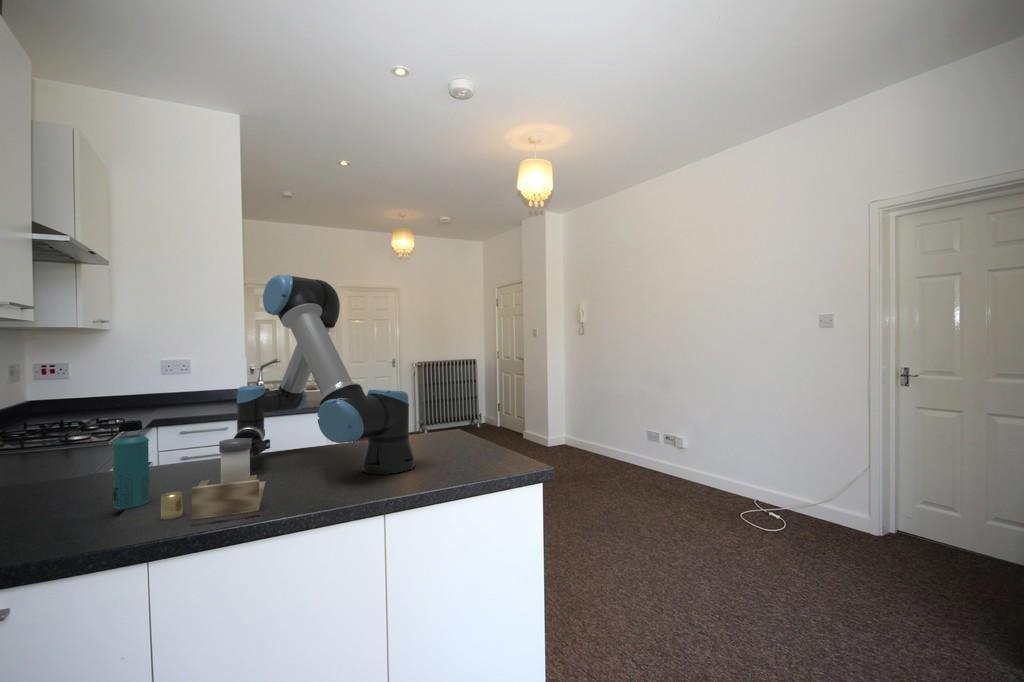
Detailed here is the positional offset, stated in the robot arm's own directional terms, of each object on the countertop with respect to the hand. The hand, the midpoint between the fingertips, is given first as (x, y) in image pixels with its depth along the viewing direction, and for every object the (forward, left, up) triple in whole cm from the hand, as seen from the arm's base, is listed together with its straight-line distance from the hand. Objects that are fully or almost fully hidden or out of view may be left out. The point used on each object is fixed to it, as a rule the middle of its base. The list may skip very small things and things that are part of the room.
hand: (238, 457), depth 119 cm
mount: (0, +12, -8) cm, 15 cm away
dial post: (+10, +20, -8) cm, 24 cm away
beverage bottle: (+20, +7, -8) cm, 23 cm away
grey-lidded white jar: (0, +7, -7) cm, 10 cm away
